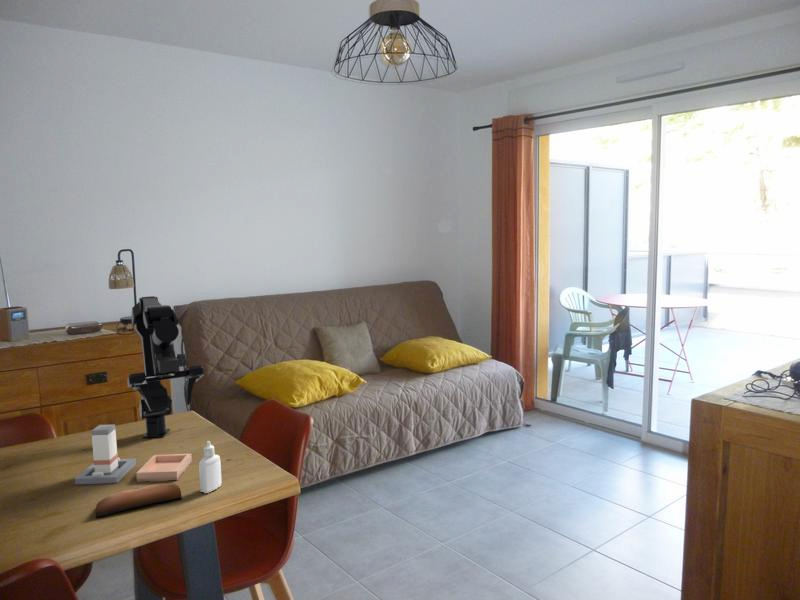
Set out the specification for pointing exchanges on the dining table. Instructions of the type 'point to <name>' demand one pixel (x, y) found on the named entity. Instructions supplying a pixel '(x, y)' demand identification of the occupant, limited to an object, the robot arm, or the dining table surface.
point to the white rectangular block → (105, 449)
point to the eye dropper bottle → (209, 470)
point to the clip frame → (98, 478)
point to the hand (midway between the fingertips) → (170, 408)
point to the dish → (164, 467)
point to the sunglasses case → (137, 498)
